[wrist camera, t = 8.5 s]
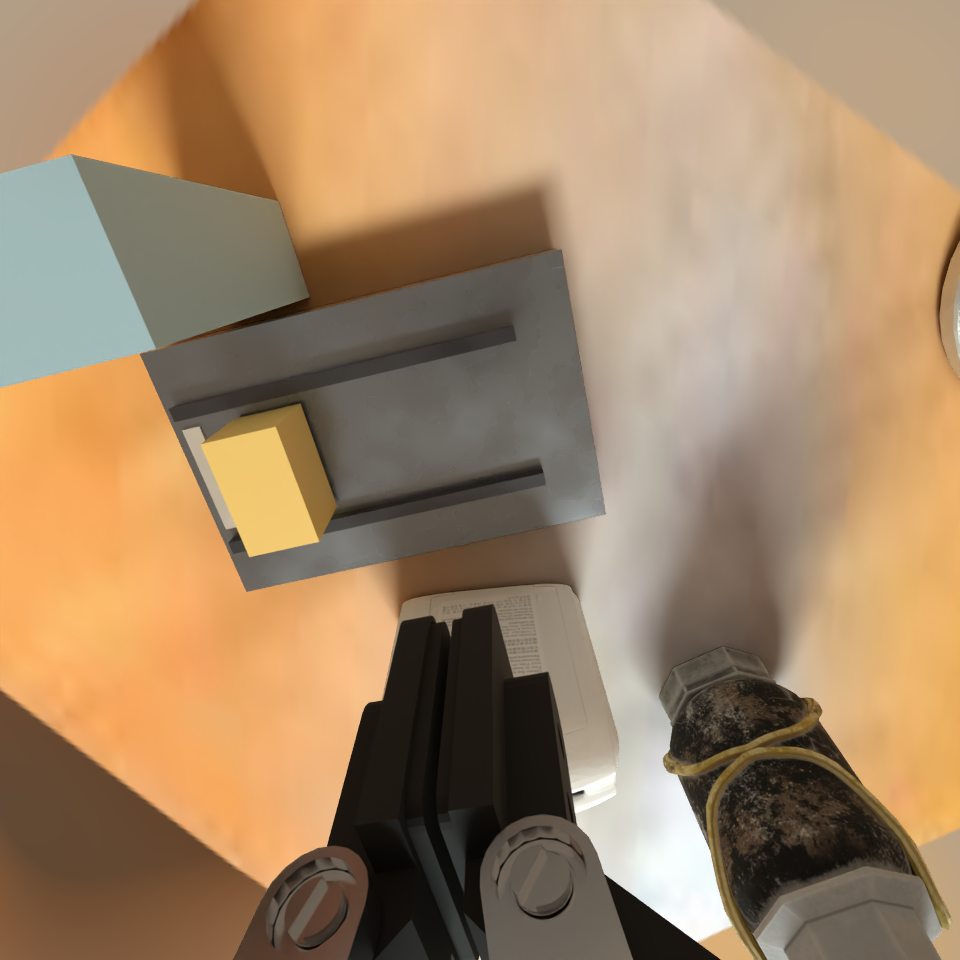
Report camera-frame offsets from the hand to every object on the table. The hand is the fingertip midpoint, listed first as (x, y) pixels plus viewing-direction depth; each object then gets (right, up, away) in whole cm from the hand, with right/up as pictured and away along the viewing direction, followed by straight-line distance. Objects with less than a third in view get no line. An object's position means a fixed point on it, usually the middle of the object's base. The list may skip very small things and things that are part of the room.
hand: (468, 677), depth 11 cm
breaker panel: (-4, +6, +18) cm, 20 cm away
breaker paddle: (-8, +4, +16) cm, 18 cm away
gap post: (-10, +13, +15) cm, 22 cm away
